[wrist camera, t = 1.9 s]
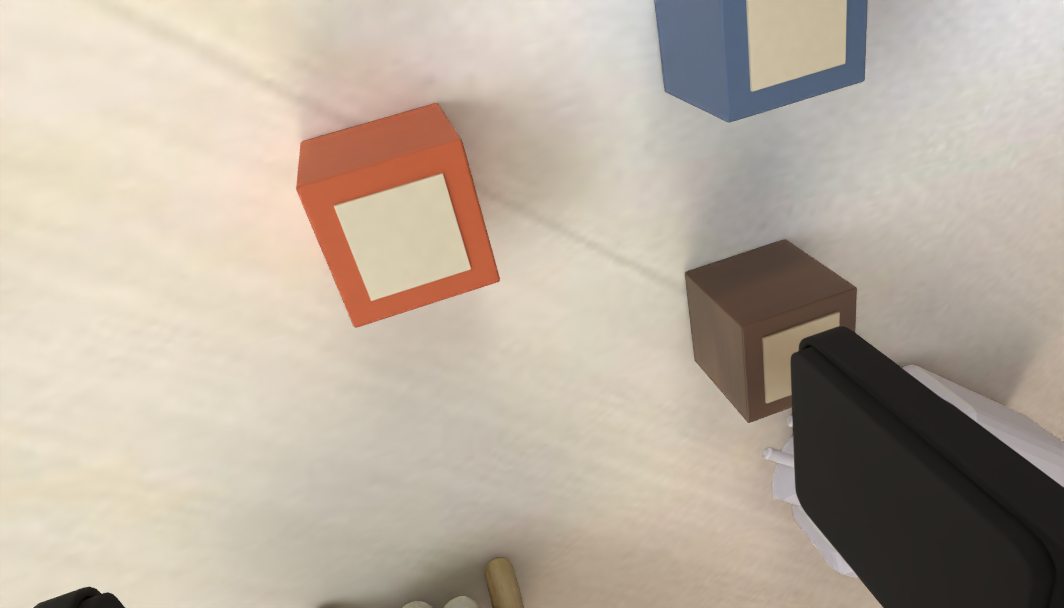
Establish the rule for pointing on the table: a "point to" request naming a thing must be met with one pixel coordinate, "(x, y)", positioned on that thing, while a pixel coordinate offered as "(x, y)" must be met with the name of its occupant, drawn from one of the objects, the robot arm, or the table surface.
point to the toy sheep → (499, 586)
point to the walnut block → (762, 321)
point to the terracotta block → (396, 213)
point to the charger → (996, 418)
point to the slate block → (759, 51)
